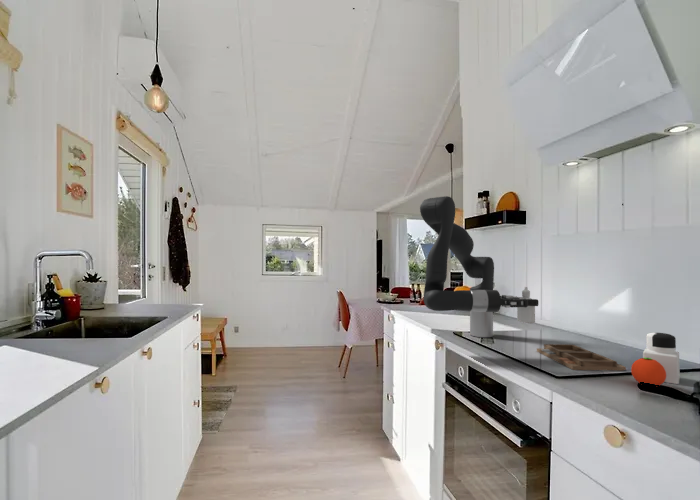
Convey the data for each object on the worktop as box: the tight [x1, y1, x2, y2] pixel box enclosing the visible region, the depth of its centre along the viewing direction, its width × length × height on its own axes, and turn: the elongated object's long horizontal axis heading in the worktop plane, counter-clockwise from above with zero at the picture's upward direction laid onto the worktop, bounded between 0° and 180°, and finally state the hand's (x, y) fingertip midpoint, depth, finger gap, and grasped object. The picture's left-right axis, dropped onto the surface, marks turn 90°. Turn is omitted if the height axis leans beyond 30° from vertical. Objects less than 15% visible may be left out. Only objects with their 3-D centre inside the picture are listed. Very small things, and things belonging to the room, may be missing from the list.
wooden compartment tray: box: [536, 343, 627, 371], centre depth 118 cm, size 22×15×2 cm
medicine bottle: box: [642, 332, 681, 385], centre depth 100 cm, size 7×7×12 cm
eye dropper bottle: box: [516, 286, 536, 324], centre depth 126 cm, size 4×6×12 cm
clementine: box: [630, 357, 666, 386], centre depth 94 cm, size 8×7×7 cm
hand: (533, 301), depth 126 cm, fingers closed on eye dropper bottle, 5 cm apart
